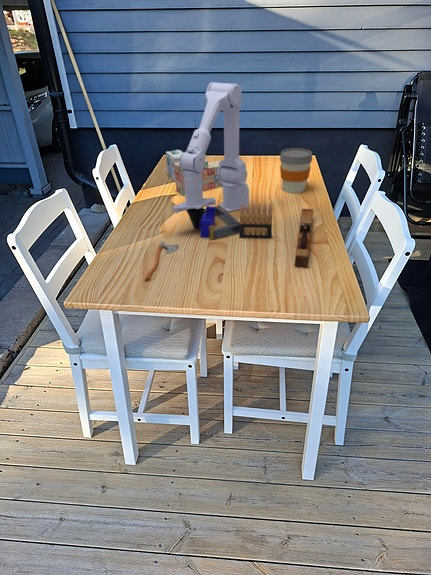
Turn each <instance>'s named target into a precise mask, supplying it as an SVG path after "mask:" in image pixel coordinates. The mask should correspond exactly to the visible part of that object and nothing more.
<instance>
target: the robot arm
mask: <svg viewBox="0 0 431 575" xmlns="http://www.w3.org/2000/svg"><path fill="white" fill-rule="evenodd" d="M205 100H206V105H205V109H204V112H203V115H202V118H201V122H200V125H199V127H198V128H197V129H195V130H194V131H193V133H192V136H191V139H190V141H189V144H188V146H187V149H186V151H184V152H183V154H182V155H181V157H180V162H179V167H180V168H181V170H182V174H183V176H184V184H185V196H184V198H185V201H183V202H181V203H178V204H176V205H173V206H172V207H173V208H172V209H173V212H174V214H179V213H180V212H184V211H186V214H188V216H190V218H189V220H190V219H191V221H190V222H191V223H192V224H191V225H192V227H193V229H195V230H198V229H199V225H200V221H201V218H202V216H203V214H204V211H205V210H204V209H205V208H204V207H207V206H211V205H212V206H217V205H216V202H217V201H216V200H217V199H216V198H214V197H208V198H207V197H204V193H203V192H204V191H203V189H202V170H203V169H204V167H205V160H206V157H207V155H206V153H207V150H208V147H209V145H210V143H211V140H212V136H211V134H210V133H211V131H212V128H213V126H214V124H215V122H216V120H217V118H218V116H219V115H220V112H223V146H224V147H223V151H224V152H223V154H224V155H223V158H222V159H221V160H219V161H220V162H219V168H218V172H217V176H218V179H219V181H221V184H223V186H222V202H220V203H218V206H220V207H221V208H222V209H223V210H225V211H226V212H227V213H229V212H232V211H233V212H234V211H237V210H241V204H242V203H243V205H244V209H246V207H247V204H248V203H249V207H250V190H249V185H248V183H247V179H248V170H247V163H246V162H245V161H244V160H243V159H242V158H241V157H240V109H242V88H241V87H240V86H239V84H237V83H236V82H235V83H226V82H225V83H224V82H215V81H211V82H209V84H208V85H207V88H206V92H205ZM250 208H251V207H250Z"/></svg>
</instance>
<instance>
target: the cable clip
mask: <svg viewBox="0 0 431 575" xmlns="http://www.w3.org/2000/svg"><path fill="white" fill-rule="evenodd" d="M205 207H206V208H205V209H206V214H203V216H202V218H201V221H200V225H199V229H200V238H203V239H209V229H208V226H211V225H213V226H214V224H215V222H216V216H215V206H213V205H212V206H211V205H208V206H205ZM214 227H215V226H214Z"/></svg>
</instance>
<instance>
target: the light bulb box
mask: <svg viewBox="0 0 431 575" xmlns="http://www.w3.org/2000/svg"><path fill="white" fill-rule="evenodd" d="M183 153H184V152H183V150H180V149H174V150H170V151H165V158H166V169H167V170H166V171H167V176H168V177H169V178H171V180H173V181H174V183H176V180H175V168H174V163H178V162H180V157H181V155H182V154H183Z"/></svg>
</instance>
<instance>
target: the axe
mask: <svg viewBox="0 0 431 575" xmlns="http://www.w3.org/2000/svg"><path fill="white" fill-rule="evenodd" d="M179 247H180V245H179V244H178V243H177V244H166V243H165V242H164V241H161V242H160V243H159V245H158V247H157V249H156V252H155V262H154V265H153V267H152V268H151V269H150V270H149V271H148V272H147V273H146V275H145V278H144V282H149V281H151V278H152V275H153V273H154V272H155V271H156V270H157V268H158V267H159V262H160V254H161V252H162V249H165V251H166V252H165V254H166V255H169V254H172V253H174V252H176V251H177V250H179Z"/></svg>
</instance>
